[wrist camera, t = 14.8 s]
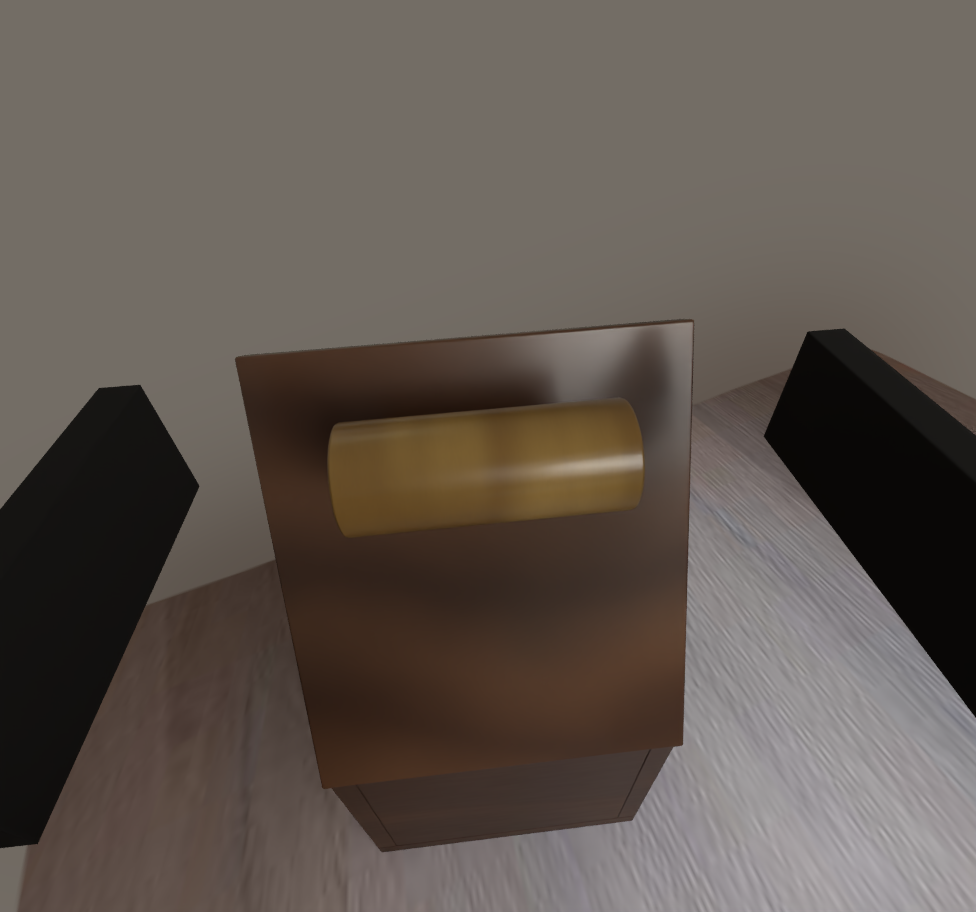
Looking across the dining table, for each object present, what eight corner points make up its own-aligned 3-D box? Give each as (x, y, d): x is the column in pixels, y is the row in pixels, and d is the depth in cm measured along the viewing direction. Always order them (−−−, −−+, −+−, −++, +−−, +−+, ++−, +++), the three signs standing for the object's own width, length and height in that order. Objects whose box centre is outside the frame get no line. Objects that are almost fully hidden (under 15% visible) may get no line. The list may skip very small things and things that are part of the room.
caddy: (392, 608, 36) (360, 502, 29) (573, 589, 37) (587, 480, 29) (381, 852, 26) (327, 784, 19) (632, 820, 27) (676, 742, 19)
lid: (244, 355, 15) (104, 380, 9) (682, 318, 15) (830, 320, 9) (327, 770, 19) (269, 984, 13) (674, 729, 19) (775, 915, 13)
